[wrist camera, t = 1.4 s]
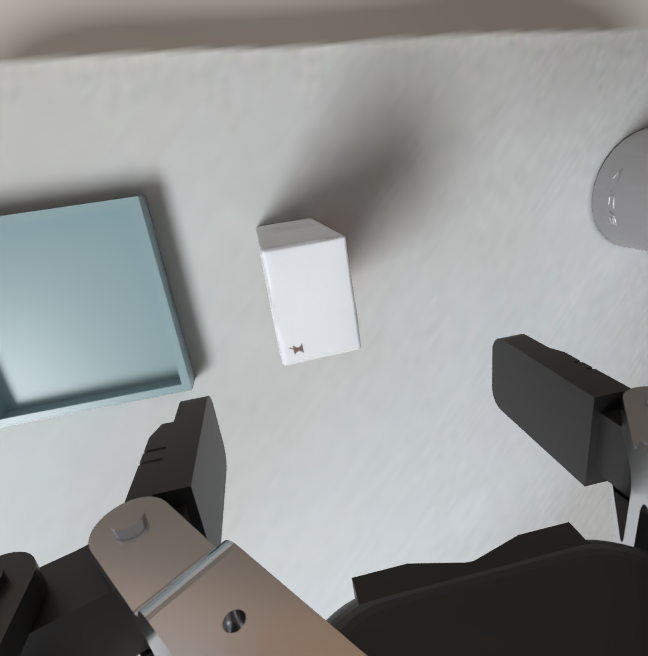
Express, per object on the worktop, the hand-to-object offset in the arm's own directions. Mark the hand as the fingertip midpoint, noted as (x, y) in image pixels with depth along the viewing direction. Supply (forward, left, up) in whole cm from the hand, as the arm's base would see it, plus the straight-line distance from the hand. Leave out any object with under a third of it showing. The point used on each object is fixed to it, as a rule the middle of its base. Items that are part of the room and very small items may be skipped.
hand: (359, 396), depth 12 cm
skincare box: (0, 0, -21) cm, 21 cm away
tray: (+16, +1, -21) cm, 27 cm away
